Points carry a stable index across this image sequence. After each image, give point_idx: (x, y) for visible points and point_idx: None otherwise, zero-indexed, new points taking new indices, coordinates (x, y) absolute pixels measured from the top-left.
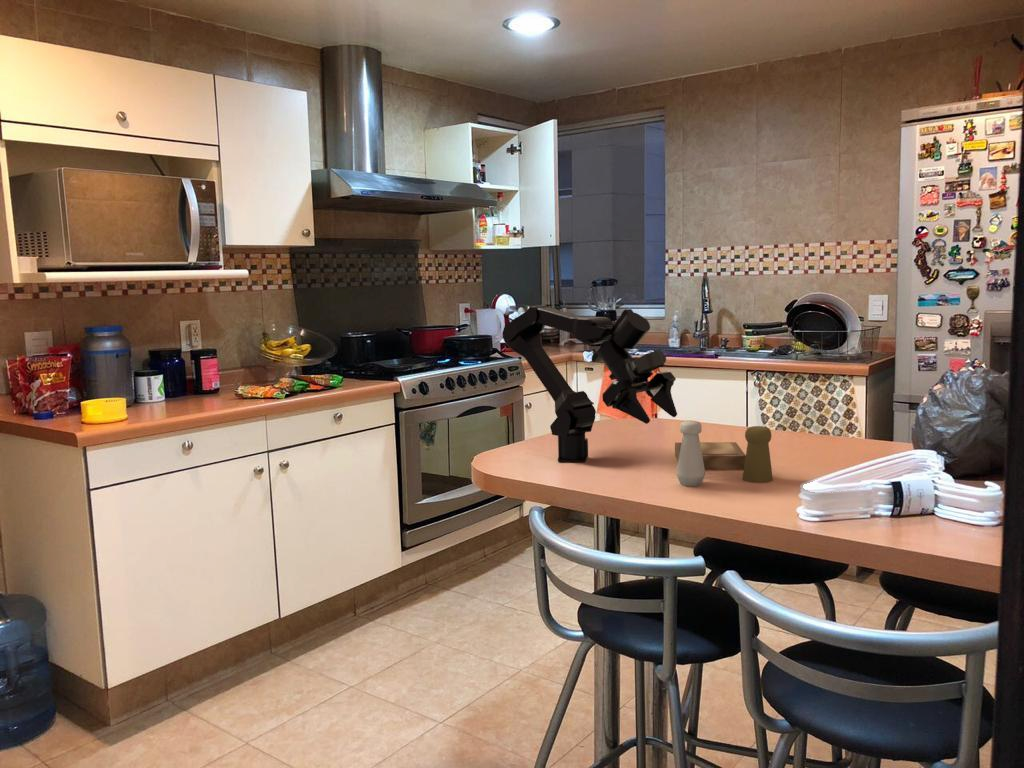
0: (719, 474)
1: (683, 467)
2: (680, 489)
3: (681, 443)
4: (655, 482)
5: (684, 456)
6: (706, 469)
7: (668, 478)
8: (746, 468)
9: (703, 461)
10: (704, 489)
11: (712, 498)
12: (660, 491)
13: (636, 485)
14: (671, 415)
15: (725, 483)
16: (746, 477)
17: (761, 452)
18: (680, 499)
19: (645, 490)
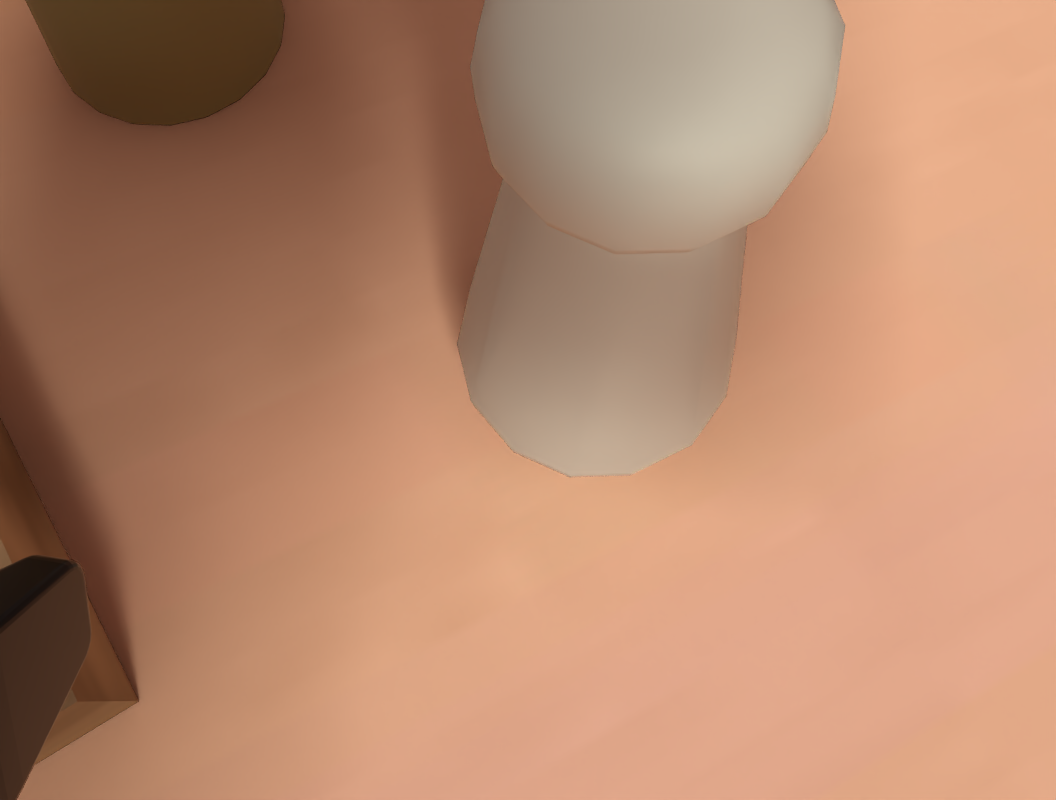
0: (153, 315)
1: (734, 329)
2: (784, 376)
3: (713, 287)
4: (712, 674)
5: (737, 282)
6: (30, 480)
7: (513, 639)
8: (221, 8)
9: (2, 487)
10: None
11: (856, 85)
12: (943, 486)
13: (914, 779)
14: (59, 704)
15: (414, 166)
16: (256, 51)
17: None
18: (1032, 252)
19: (1001, 613)
